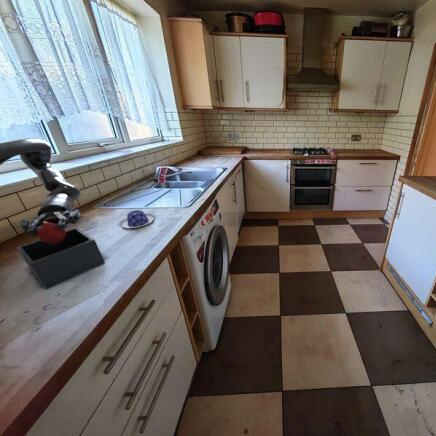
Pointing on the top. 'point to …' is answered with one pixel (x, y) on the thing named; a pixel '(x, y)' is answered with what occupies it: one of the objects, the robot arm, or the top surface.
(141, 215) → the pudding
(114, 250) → the top surface
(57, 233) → the onion
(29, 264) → the trash bin
